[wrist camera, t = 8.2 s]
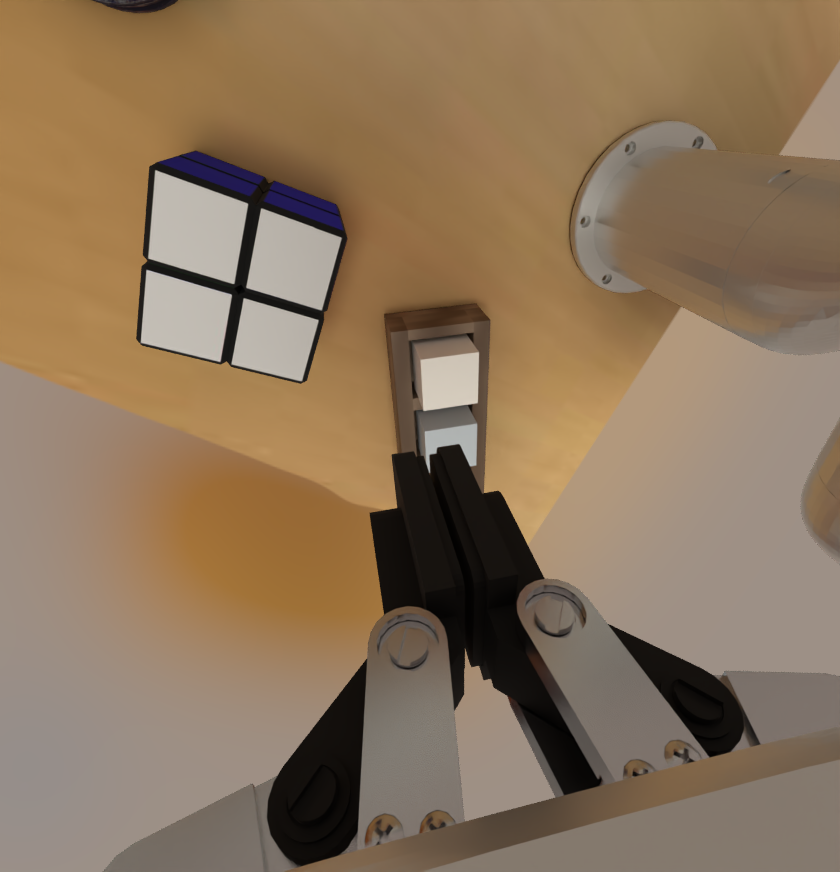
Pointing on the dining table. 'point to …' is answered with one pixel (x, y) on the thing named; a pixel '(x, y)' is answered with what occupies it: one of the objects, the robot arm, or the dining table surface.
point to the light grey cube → (447, 431)
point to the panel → (402, 376)
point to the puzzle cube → (236, 267)
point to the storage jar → (137, 5)
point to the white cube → (445, 371)
